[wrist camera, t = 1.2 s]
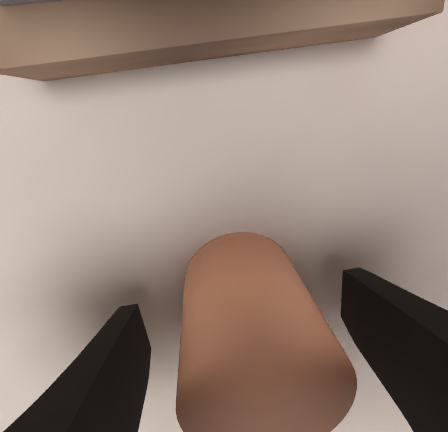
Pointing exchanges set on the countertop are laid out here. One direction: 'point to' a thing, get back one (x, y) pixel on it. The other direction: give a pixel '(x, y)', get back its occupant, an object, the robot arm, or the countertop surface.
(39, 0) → the tower top
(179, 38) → the tower base
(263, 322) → the cylinder
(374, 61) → the countertop surface
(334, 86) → the countertop surface
